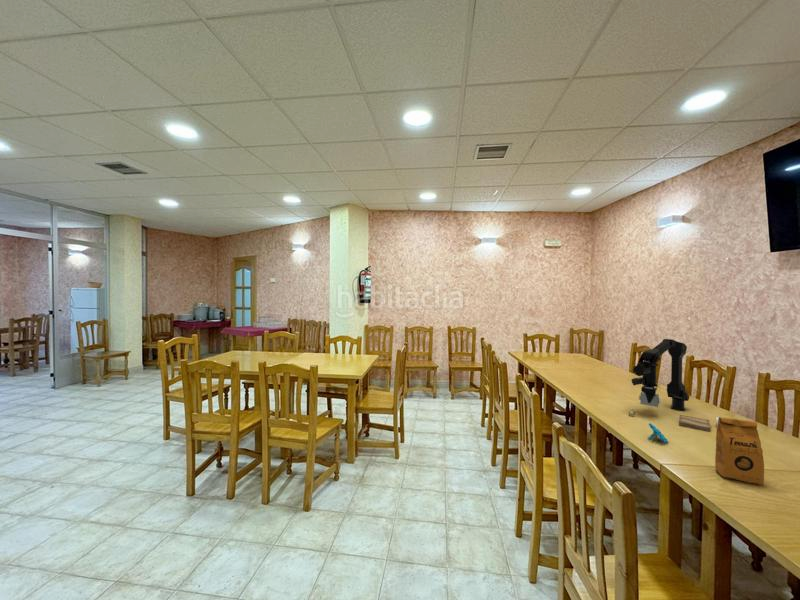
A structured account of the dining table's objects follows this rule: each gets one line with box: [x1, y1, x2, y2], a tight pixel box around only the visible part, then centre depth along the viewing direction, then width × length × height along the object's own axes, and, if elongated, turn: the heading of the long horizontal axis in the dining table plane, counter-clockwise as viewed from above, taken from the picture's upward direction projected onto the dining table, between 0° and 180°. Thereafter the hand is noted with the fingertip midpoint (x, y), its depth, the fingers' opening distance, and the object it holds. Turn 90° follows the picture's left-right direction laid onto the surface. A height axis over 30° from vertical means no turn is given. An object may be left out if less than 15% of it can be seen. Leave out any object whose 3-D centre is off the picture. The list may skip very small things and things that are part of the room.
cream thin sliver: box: [715, 416, 725, 429], centre depth 172 cm, size 5×5×5 cm
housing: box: [638, 391, 661, 408], centre depth 190 cm, size 5×10×6 cm, turn 49°
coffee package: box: [714, 416, 765, 486], centre depth 126 cm, size 10×12×22 cm
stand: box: [678, 414, 711, 433], centre depth 177 cm, size 14×12×2 cm
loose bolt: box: [628, 409, 635, 417], centre depth 191 cm, size 7×3×3 cm, turn 139°
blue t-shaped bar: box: [647, 422, 669, 444], centre depth 159 cm, size 11×6×10 cm
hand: (649, 401), depth 190 cm, fingers closed on housing, 5 cm apart
